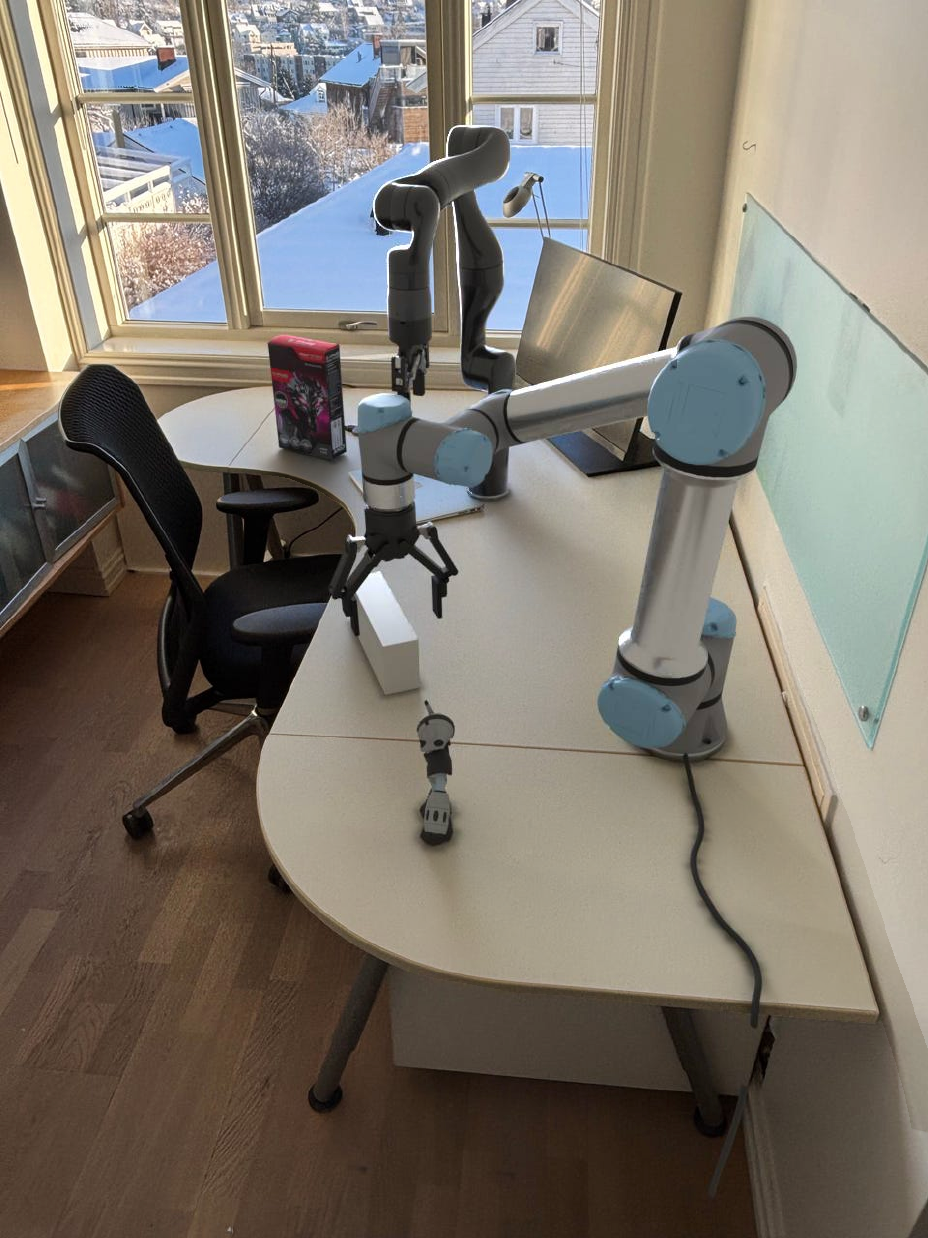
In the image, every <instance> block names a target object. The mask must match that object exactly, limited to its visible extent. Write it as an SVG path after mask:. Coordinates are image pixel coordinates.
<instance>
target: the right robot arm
mask: <svg viewBox="0 0 928 1238" xmlns="http://www.w3.org/2000/svg"><path fill="white" fill-rule="evenodd" d="M797 359H798V358H797V354H796V350H795V347H794V345H793V343H792V341H791V339H790V337H789V335H788V334H786V333H785V331H784V330H783V329H782V328H781V327H780V326H778V325H777V324H775V323H774V322H772V321H770V320H767V319H764V318H762V317H757V316H740V317H736V318H735V317H734V318H732V319H729V320H727V321H724V322H722V323H720V324H717V325H715V326H712V327H709V328H707V329H704V330H701V331H697V332H694V333H689V334H687V335H684V336H683V337H681V338H680V340H679V341H678V343H677V344H676V346H674V347H671V348H667V349H663V350H660V351H656V352H653V353H649V354H645V355H642V356H638V357H634V358H630V359H626V360H623V361H619V362H616V363H611V364H608V365H605V366H604V365H603V366H601V367H597V368H593V369H589V370H585V371H582V372H579V373H574V374H571V375H567V376H564V377H559V378H555V379H552V380H549V381H545V382H541V383H537V384H534V385H530V386H526V387H522V388H518V389H515V391H513V390H509V389H505V390H500V391H498V392H495V393H492V394H489V395H488V394H487V395H485V396H484V397H483V398H481V399H480V400H479V401H477V402H475V403H474V404H472V405H471V406H469V407H467V408H466V409H464V410H462V411H460V412H459V413H457V414H455V415H453V416H451V417H449V418H448V419H446V420H444V421H442V422H436V421H431V420H426V419H422V418H420V417H415V416H413V410H412V403H411V404H410V402H409V400H408V399H406V398H404V397H403V396H401V395H397V393H378V394H373V395H370V396H368V397H365V398H363V399H362V400H361V401H360V403H358V406H357V429H356V433H357V439H358V446H359V456H360V463H361V464H360V466H361V481H362V482H361V484H362V499H363V502H364V505H363V511H364V522H365V532H364V535H363V536H353V535H352V534H347V535H346V536H345V537H344V549H343V552H342V554H341V556H340V559H339V561H338V564H337V565H336V566H337V567H336V569H335V570H334V573H333V576H332V577H331V581H330V583H329V585H328V588H327V589H328V591H329V594H330V597H331V599H333V600H338V599H339V600H341V606H342V612H343V614H344V616H345V618H349V622H350V629H351V631H352V633H353V635H354V636H355V637H358V636H360V630H359V619H358V608H357V599H356V598H355V596H354V594H355V593H356V592H357V590H358V589H359V588H360V586H361V585H362V583H363V582H364V581H365V579H366V578H367V577H368V575H369V574H370V573H372V571H373V570H374V569H375V568H377V567H378V566H379V565H380V563H381V562H382V561H384V562H385V563H386V562H391V561H394V560H403V559H405V557H407V556H408V555H409V556H411V558H412V559H414V560H416V561H417V562H419V563H420V564H421V565H422V566H423V567H424V568H425V569H426V570H428V571H429V572H430V573H431V574H433V575H430V576H431V577H430V578H431V580H430V581H431V606H432V607H431V609H432V612H433V614H434V615H435V617H436V618H437V620H440V619H443V598H447V596H448V584H449V582H450V578H451V577H452V576H453V577H456V576H458V575H459V569H458V568H457V566H456V564H455V563H454V561H453V560H452V558H451V556H450V555H449V553H448V552H447V550H446V548H445V547H444V545H443V544H442V542H441V540H440V539H439V533H438V528H437V527H436V525H435V524H434V523H433V521H432V520H430V519H428V520H426V521H425V522H424V524H423V525H419V526H417V512H416V502H415V499H416V491H415V490H416V489H415V488H416V487H415V475H416V476H420V477H424V478H427V479H431V480H433V481H438V482H442V483H444V484H446V485H449V486H461V487H464V488H465V487H466V488H467V487H474V486H477V485H479V484H480V483H481V482H482V481H483V480H484V477H485V475H486V474H488V472H489V469H490V467H491V463H492V455H494V454H495V453H497V452H498V451H500V450H502V449H504V448H507V447H509V448H511V447H515V446H519V445H523V444H528V443H532V442H536V441H540V440H545V439H549V438H550V439H551V438H554V437H558V436H564V435H568V434H572V433H577V432H582V431H586V430H591V429H595V428H601V427H605V426H609V425H614V424H619V423H623V422H627V421H628V422H629V421H633V420H636V419H642V418H646V417H647V421H648V426H649V429H650V432H651V433H652V434H653V435H654V440H653V441H654V443H653V446H652V455H653V457H654V459H655V460H656V461H657V462H658V463H659V465H660V466H661V467H662V471H661V472H662V473H661V476H660V482H659V487H658V493H657V499H656V503H655V509H654V514H653V519H652V525H651V529H650V536H649V541H648V546H647V552H646V556H645V562H644V567H643V573H642V578H641V583H640V589H639V595H638V599H637V605H636V609H635V610H636V611H635V617H634V620H633V625H632V626H630V627H628V628H627V629H625V630H624V631H623V632H622V633H621V634H620V636H619V640H618V642H617V647H616V654H615V659H614V665H613V669H612V672H611V675H610V677H609V678H608V679H607V680H605V681H604V682H603V683H602V686H601V687H600V690H599V693H598V695H597V701H596V702H597V703H596V704H597V709H598V712H599V715H600V717H601V719H602V721H603V722H604V724H606V725H607V726H609V728H610V731H612V732H613V733H614V734H615V736H617V737H619V738H620V739H621V740H623V741H625V742H627V743H628V744H631V745H633V746H636V747H639V748H640V749H641V750H643V751H645V752H646V753H648V754H650V755H651V756H654V757H656V758H659V759H662V760H666V761H670V762H675V763H684V767H685V768H684V769H685V772H686V777H687V778H686V779H687V782H688V787H689V791H690V795H691V799H692V802H693V806H694V808H695V813H696V816H697V826H698V827H697V828H698V829H697V833H696V838H695V841H694V843H693V845H692V849H691V853H690V862H689V863H690V870H691V875H692V879H693V882H694V885H695V887H696V889H697V892H698V893H699V895H700V897H701V899H702V900H703V902H704V904H705V905H706V907H707V909H708V910H709V912H710V914H711V915H712V917H713V918H714V920H715V921H716V922H717V924H718V925H719V926H720V927H721V928H722V929H723V931H725V932H726V934H728V936H729V937H731V939H732V940H733V941H734V942H735V943H736V944H737V945H738V946H739V947H740V949H742V951H743V952H744V953H745V955H746V957H747V958H748V961H749V962H750V965H751V967H752V970H753V975H754V986H753V993H752V999H751V1007H750V1019H749V1020H750V1022H749V1023H750V1027H751V1028H752V1029H754V1030H756V1029H758V1027H759V1009H760V1002H761V996H762V988H763V978H762V971H761V968H760V965H759V962H758V960H757V958H756V957H757V956H756V955H755V953H754V952H753V950H752V949H751V947H750V946H749V945H748V944H747V943H746V941H745V940H744V939H743V938H742V937H741V935H739V934H738V932H737V931H736V930H734V929H733V928H732V927H731V926H730V925H729V924H728V923H727V922H726V920H725V919H724V918H723V917H722V915H721V914H720V912H719V911H718V909H717V908H716V906H715V905H714V903H713V901H712V900H711V897H709V895H708V893H707V891H706V889H705V887H704V885H703V882H702V881H701V878H700V875H699V871H698V863H697V859H698V853H699V850H700V847H701V845H702V842H703V839H704V834H705V819H704V813H703V810H702V807H701V804H700V800H699V797H698V793H697V789H696V786H695V781H694V776H693V772H692V771H693V770H692V766H691V763H694V762H700V761H703V760H706V759H709V758H711V757H714V755H716V754H718V752H720V751H721V750H722V748H723V747H724V744H725V743H726V740H727V739H726V738H727V734H728V721H727V716H726V712H725V708H724V707H725V706H724V701H723V692H724V686H725V682H726V678H727V674H728V673H727V672H728V668H729V664H730V659H731V654H732V651H733V650H732V649H733V645H734V639H735V637H736V636H737V623H738V622H737V621H738V620H737V616H736V613H735V612H734V611H733V609H731V608H730V607H729V606H728V604H726V603H724V602H723V601H721V600H719V599H717V598H714V597H712V591H713V587H714V583H715V579H716V575H717V570H718V566H719V562H720V558H721V554H722V549H723V545H724V541H725V537H726V534H727V530H728V525H729V520H730V517H731V512H732V508H733V504H734V500H735V496H736V492H737V488H738V484H739V481H740V480H741V479H743V478H745V477H747V476H749V475H751V474H752V473H753V472H754V471H755V470H756V468H757V464H758V461H759V456H760V454H761V453H760V452H761V449H762V445H763V441H764V438H765V433H766V430H767V426H768V422H769V419H770V417H771V415H772V414H773V413H774V412H775V411H776V410H777V409H778V408H779V407H780V406H781V405H782V404H783V402H784V401H785V400H786V399H787V398H788V396H789V394H790V392H791V391H792V389H793V386H794V383H795V381H796V378H797V377H796V376H797V370H798V360H797ZM421 536H423V538H424V540H429V542H430V544H431V545H432V547H433V548H434V550H435V552H436V553H437V555H438V556H439V558H440V560H441V561H442V563H443V564H444V566H443V567H442V566H440V565H439V564H438V563H437V562H435V561H434V560H433V559H432V558H430V557H429V556H428V555H427V554H426V553H425V552H424V551H422V550H421V549H420V548H419V547H418V546H417V545H416V543H417V541H418V540H419V538H420V537H421ZM364 546H365V547H366V548H367V549H366V550H365V551H364V553H363V557H362V558H361V560H360V561H359V563H358V564H357V565H356V566H355V568H354V569H353V567H354V564H355V562H356V559H357V554H359V553H360V552H361V550H362V548H363V547H364ZM352 569H353V571H352ZM351 571H352V572H351ZM350 573H351V574H350ZM348 577H349V578H348ZM748 1092H749V1086H747V1085H744V1084H741V1085H740V1089H739V1094H738V1099H737V1102H736V1106H735V1110H734V1113H733V1117H732V1120H731V1124H730V1127H729V1129H728V1132H727V1136H726V1138H725V1141H724V1144H723V1148H722V1149H721V1153H720V1156H719V1158H718V1162H717V1164H716V1167H715V1170H714V1173H713V1176H712V1179H711V1183H710V1186H709V1189H708V1192H707V1194H708V1196H709V1197H710V1198H714V1197H715V1195H716V1192H717V1188H718V1185H719V1181H720V1178H721V1176H722V1172H723V1170H724V1167H725V1164H726V1161H727V1159H728V1156H729V1154H730V1151H731V1148H732V1145H733V1143H734V1139H735V1137H736V1134H737V1131H738V1128H739V1125H740V1121H741V1119H742V1116H743V1111H744V1108H745V1104H746V1100H747V1095H748Z"/></svg>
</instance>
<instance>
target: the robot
mask: <svg viewBox="0 0 928 1238" xmlns="http://www.w3.org/2000/svg"><path fill="white" fill-rule="evenodd" d="M423 704H424V706H425V708H426V711H427V714H428V715H426V716H424V717H423V718H422V719H421V720H419V721H418V724H417V726H416V728H415V730H416V733H417V736H416V737H417V738H418V741H419V751H420V752H421V753H423V757H424V760H425V762H426V778H427V779H428V782H429V784H430V787H431V788H430V789H429V792H428V794H427V798H426V799H425V801H424V802H423V803H422V804H421V805H420V807H419V813H420V815H421V818H423V827H422V828H421V829H422V830H421V831H420V834H419V838H420V839H421V840H422V841H423V842H424V843H425V845H429V846H440V845H442V844H444V843H447V842H449V841H451V839H452V836H453V833H454V831H453V830H454V829H453V822H452V819H451V815H452V814H453V811H452V802H451V799H450V795H449V793H447V791H446V785H447V784H448V778H447V775H448V776H453V760H452V757H451V755H450V746H452V743H451V739H454V738H453V737H454V736H455V731H456V727H455V723H454V721H453V719H452V718H450V717H449V716H447V715H445V714H444V713H441V712H435V711H434V710H433V708H432V707H431V705H430V702H429V701H428V700H427V699H425V700H424V703H423Z"/></svg>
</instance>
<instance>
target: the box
mask: <svg viewBox="0 0 928 1238" xmlns="http://www.w3.org/2000/svg"><path fill="white" fill-rule="evenodd" d="M348 578H349V576H348ZM348 578H347V579H348ZM354 596H355V598H356V599H357V608H358V619H359V630H360V636H357V638H358V641H359V643H360V644H361V647H362V649H363V651H364V653H365V655H366V657H367V659H368V661H369V664H370V666H371V668H372V670H373V672H374V675H375V676H376V679H377V680H378V682H379V684H380V688H381V689H382V691H383V693H384V695H385V696H388V695H393V694H397V693H401V692H406V691H411V690H415V689H420V687H421V685H420V683H421V681H420V679H421V678H420V677H421V676H420V644H419V643H420V640H419V637H418V636H417V633H416V632H415V630H414V629H413V627H412V625H411V623H410V622H409V620H408V618H407V616H406V614H405V612H404V611H403V609H402V607H401V605H400V604H399V602H398V600H397V598H396V596H395V595H394V593H393V591H392V590H391V588H390V586H389V584H388V582H387V580H386V579H385V577H384V576H383V574H382V572H381V571H373V572H371V573H370V574H369V575H368V577H367V578H366V579H365V581H364V582H363V583H362V585H361V586H360V588H359V589H358V590H357V592H356V593H355V594H354Z"/></svg>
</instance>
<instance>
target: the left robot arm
mask: <svg viewBox="0 0 928 1238" xmlns="http://www.w3.org/2000/svg"><path fill="white" fill-rule="evenodd" d="M511 154H512V149H511V141H510V138H509V135H508V133H507V132H506V131H505V130H504V129H502V128H501V127H499V126H498V127H497V126H492V125H456V126H454V127H452V128H451V129H450V131H449V134H448V136H447V142H446V157H445V158H442V159H441V158H440V159H439V160H436V161H433V162H431V163H430V164H428V165H427V166H425V167H424V168H422V169H420V170H419V171H418V172H416V173H415V174H410V175H405V176H403V177H399V178H396V179H395V178H394V179H392V180H390V181H387V182H386V183H385V184H383V185H382V186H381V187H380V189H379V190H378V191H377V193H376V194H375V197H374V200H373V215H374V218H375V220H376V221H377V223H378V224H379V226H381V228H383V229H385V230H387V231H390V232H402V233H410V234H412V239H411V241H410V244H406V245H399V246H395V247H393V248H391V249H389V251H388V252H387V256H386V257H387V258H386V263H387V264H386V265H387V267H386V268H387V298H386V305H387V307H386V308H387V332H388V333H387V334H388V340H389V342H391V343H393V344H395V345H397V346H398V350H397V352H396V356H391V358H390V371H391V377H390V378H391V392H396V394H397V395H401V396H403V397H404V398H406V399H408V400H409V402H410V404H411V405H412V402H411V400H412V398H411V397H412V396H411V389H412V395H413V396H415V397H423V396H425V394H426V375H427V373H428V371H427V369H430V367H431V365H430V364H431V363H430V343H429V342H431V340H432V338H433V333H432V332H433V327H432V325H433V322H432V321H433V320H432V319H433V318H432V317H433V316H432V311H433V310H432V294H431V282H430V280H431V277H430V276H431V275H430V263H431V262H430V261H431V254H432V248H433V244H434V238H435V235H436V231H437V228H438V224H439V219H440V213H441V212H442V211H443V210H444V209H446V208H448V207H449V205H451V204H452V207H453V217H454V227H455V228H454V229H455V243H456V266H457V281H458V290H459V303H460V304H459V305H460V306H459V307H460V351H459V352H460V353H459V355H460V356H459V357H460V358H459V364H460V365H459V366H460V367H459V369H460V375H461V376H460V377H461V378H462V382H463V383H464V384H465V385H466V386H467V387H469V388H470V389H474V390H478V391H480V392H485V393H487V395H489V394H492V393H495V392H498V391H500V390H505V389H509V390H513V391H515V390H516V380H517V362H516V358H515V356H514V355H513V353H512V352H510V351H508V350H504V349H500V348H496V347H492V346H489V345H488V344H487V334H486V333H487V322H488V319H489V316H490V314H491V313H492V311H493V309H494V308H495V306H496V304H497V303H498V300H499V299H500V297H501V295H502V293H503V289H504V285H505V264H504V263H505V262H504V251H503V248H502V245H501V243H500V240H499V239H498V237H497V235H496V233H495V231H494V230H493V229H492V227H491V225H490V224H489V222H488V220H487V219H486V217H485V216H484V214H483V213H482V210H481V208H480V206H479V202H478V199H477V194H476V190H477V189H479V188H481V187H484V186H485V185H489V184H491V183H494V182H495V183H496V182H497V181H500V180H501V179H503V177H505V175H506V174H507V173H508V171H509V167H510V164H511V158H512V157H511V156H512V155H511ZM509 460H510V447H507V448H504V449H502V450H500V451H498V452H497V453H495V454H494V455H492V463H491V467H490V469H489V472H488V474H486V475H485V477H484V480H483V481H482V482H481V483H480V484H479V485H477V486H474V487H468V490H469V491H470V492H472V494H471V493H470V492H469V491H468V490H467V489H466V493H467V495H468V496H469V497H470V498H473V499H475V500H479V501H496V500H500V499H503V498H505V497H506V496H507V495H508V493H509V486H508V483H509V463H510V461H509Z"/></svg>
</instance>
